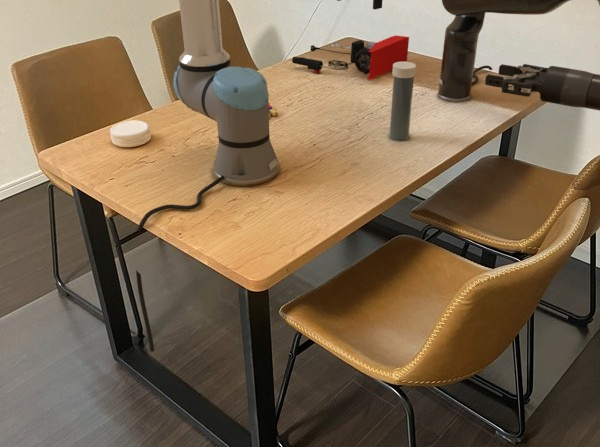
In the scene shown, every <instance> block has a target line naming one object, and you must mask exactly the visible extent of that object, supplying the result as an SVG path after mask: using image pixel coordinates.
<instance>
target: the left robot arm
mask: <svg viewBox="0 0 600 447" xmlns="http://www.w3.org/2000/svg"><path fill="white" fill-rule="evenodd" d="M336 1H337V2H340V1H341V0H336ZM178 3H179V12H180V20H181V30H182V31H181V32H182V38H183V47H184V51H183V52H182V53H181V54H180V56H179V57H178V62H179V63H178V64H179V65H178V66H177V69H176V70H175V72H174V73H173V74H174V75H173V90H174V92H175V95H176V97H177V98H178V100H179V101H180V102H181V103H182V104H183V105H185V106H186V107H187V108H188V109H190V110H191V111H193V112H196V113H199V114H200V115H202V116H204V117H206V118H209V119H210V120H212V121H215V122H216V126H217V135H218V145H217V149H216V153H215V159H214V162H213V167H212V168H213V176H214V177H215V180H214V181H212V182H211V183H209V184H208V185H206V186H205V187H204V188H201V189H200V191H199V192H198V193H197V196H196V202H195V203H194V204H189V205H183V204H163V205H161V206H158V207H154V208H152V209H151V210H148V211H147V212H146V213H145V214H144V215H143V217H142V219H141V220H140V222H139V224H138V226H137V228H136V232H140V231H142V230H143V228H144V225H145V224H146V222H147V221H148V220H149V218H150V217H151V216H153V215H154V214H155V213H158V212H161V211H165V210H169V209H170V210H172V209H173V210H183V211H187V210H194V209H197V208H199V207H200V206H201V204H202V196H203V195H204V194H205V193H206V192H207V191H209V190H210V189H212V188H213V187H215V186H216V185H218V184H220V183H223V184H225V185H228V186H229V185H230V186H234V187H251V186H252V187H253V186H257V185H261V184H265V183H267V182H269V181H271V180H273V179H274V178H275V177H276V176H277V175H278V174H279V171H280V166H279V164H280V163H279V160H278V156H277V154H276V151H275V149H274V146H273V144H272V142H271V138H270V136H271V135H270V134H271V133H270V118H269V104H268V102H269V98H270V94H269V89H268V83H267V79H266V77H265V76H264V75H263V74H262V73H261V72H260V71H258V70H256V69H253V68H250V67H242V66H231V55H230V54H229V53H228V52H227V51H226V50H225V49H224V48H223V37H222V26H221V14H220V13H221V11H220V0H178ZM382 8H383V0H372V10H374V11H375V10H380V9H382ZM135 275H136V284H137V291H138V297H139V302H140V308H141V312H142V317H143V321H144V325H145V330H146V335H147V341H148V344H149V351H150V352H151V353H152V352H153V353H154V352H155V345H154V339H153V334H152V329H151V324H150V320H149V315H148V311H147V306H146V301H145V297H144V296H145V295H144V290H143V282H142V274H141V273H140V272H139V271H138V270H135Z"/></svg>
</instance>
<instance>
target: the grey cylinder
mask: <svg viewBox="0 0 600 447" xmlns="http://www.w3.org/2000/svg"><path fill="white" fill-rule="evenodd" d="M392 78H393V79H392V93H391V107H390V120H389V121H390V122H389V124H390V125H389V138H390V139H392V140H393V141H406V140H408V139H409V138H410V137H409V136H410V126H411V115H412V114H411V113H412V103H413V101H412V100H413V92H414V82H415V81H414V80H415V76H414V77H412V78H398V77H395V76H392Z"/></svg>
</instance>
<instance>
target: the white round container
mask: <svg viewBox="0 0 600 447" xmlns="http://www.w3.org/2000/svg"><path fill="white" fill-rule="evenodd" d="M150 128H151V126H150V125H149V123H147V122H146V121H142V120H133V119H132V120H125V121H120V122H118V123H116V124H113V126H111V128H110V129H109V134H110V138H111V142H112V144H113V145H114V146H116V147H120V148H134V147H139V146H142V145H144V144H147V143H148V142H149V141H150V140H151V138H152V135H151V129H150Z"/></svg>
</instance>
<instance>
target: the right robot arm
mask: <svg viewBox="0 0 600 447" xmlns="http://www.w3.org/2000/svg"><path fill="white" fill-rule="evenodd" d="M569 1H571V0H441V4H442V6H443V8H444V10H445V11H446V12H448V13H449V14H450V15H452V16H455V17H454V18H453V20H452V21H451V23H449V24H448V25H447V26H446V28H445V30H444V31H445V32H444V39H443V48H442V58H441V67H440V75H439V76H440V77H438V78H437V82H439V84H438V91H437V96H438V98H439V99H441V100H444V101H447V102H455V103H456V102H457V103H460V102H466V101H468V100H470V99H471V95H472V94H471V92H472V86H473V85H475V84H477V83H478V82H479V76H477V75H476V73H477V72H479V71H481V70H484V69H488V70H489V71H493V67H492V66H490V65H482V66H479V67H477V68H475V63H476V56H477V49H478V42H479V35H480V33H481V31H482V29H483V26H484V22H485V17H486V13H492V14H504V15H523V16H529V15H530V16H534V15H535V16H537V15H538V16H539V15H546V14H549V13H552V12H554V11H556V10H557V9H559V8H560V7H562V6H563V5H564V4H566V3H568V2H569ZM597 3H598V5H599V6H600V0H597ZM473 78H474V80H473ZM484 84H485V85H486V86H489V87H495V88H499V89H501V93H503V94H508V95H516V96H520V97H526V98H528V97H529V98H530V97H531V94H532V93H539V99H540V101H541V102H545V103H550V104H554V105H555V104H556V105H561V106H565V107H571V108H583V109H589V110H593V111H594V110H595V111H600V74H599V73H592V72H589V71H586V70H582V69H575V68H569V67H562V66H556V65H550V66H549V67H543V66H539V65H533V64H528V63H524V64H522V65H517V66H515V65H509V64H500V65H499V66H498V75H493V74H487V75H486V76H485V80H484Z"/></svg>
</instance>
